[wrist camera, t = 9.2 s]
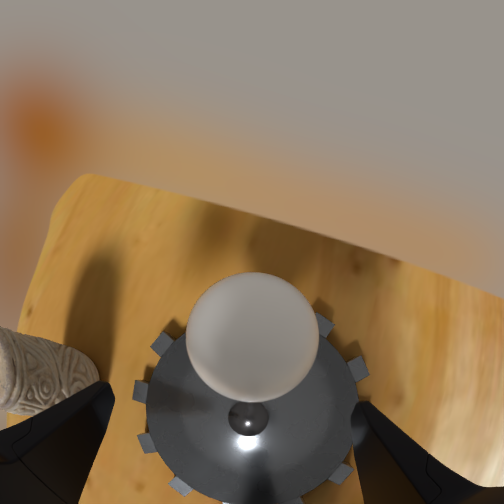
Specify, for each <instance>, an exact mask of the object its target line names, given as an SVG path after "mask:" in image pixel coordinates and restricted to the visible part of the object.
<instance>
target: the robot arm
mask: <svg viewBox="0 0 504 504" xmlns="http://www.w3.org/2000/svg"><path fill="white" fill-rule="evenodd" d="M114 403H115V396H114V394H113V391H112V388H111V385H110V384H109V383H108V382H106V381H102V380H99V381H97V382H95V383H93V384H91V385H89V386H88V387H86V388H84V389H82V390H81V391H79V392H77V393H75V394H73V395H71V396H70V397H68V398H66V399H64V400H62V401H61V402H59V403H57V404H55V405H53V406H51V407H49V408H48V409H46V410H44V411H42V412H40V413H38V414H36V415H34V416H33V417H30V418H28V419H27V420H25V421H22V422H20V423H18V424H16V425H14V426H11V427H9V428H6V429H3V430H1V431H0V504H78V502H79V500H80V497H81V494H82V491H83V488H84V486H85V483H86V480H87V478H88V475H89V473H90V470H91V467H92V465H93V462H94V460H95V457H96V455H97V452H98V450H99V447H100V445H101V443H102V440H103V438H104V435H105V433H106V430H107V426H108V423H109V420H110V416H111V413H112V409H113V406H114ZM350 422H351V431H352V440H353V450H354V457H355V462H356V466H357V471H358V475H359V480H360V484H361V489H362V494H363V499H364V504H504V487H482V486H479V485H476V484H474V483H472V482H470V481H469V480H467V479H465V478H464V477H462V476H460V475H459V474H457V473H455V472H454V471H452V470H451V469H449V468H448V467H446V466H445V465H443V464H442V463H441V462H439V461H438V460H437V459H436V458H434V457H433V456H432V455H431V454H428V452H427V451H426V450H425V449H423V448H422V447H421V446H420V445H419V444H417V443H416V442H415V441H414V440H413V439H412V438H410V437H409V436H408V435H407V434H406V433H404V432H403V431H402V430H401V429H400V428H399V427H398V426H396V425H395V424H394V423H393V422H392V421H391V420H389V419H388V418H387V417H386V416H385V415H384V414H383V413H381V412H380V411H379V410H378V409H377V408H376V407H375V406H374V405H372V404H371V403H370V402H369V401H359V402H357V403H356V405H355V407H354V410H353V412H352V414H351V418H350Z"/></svg>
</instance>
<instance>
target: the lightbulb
mask: <svg viewBox="0 0 504 504" xmlns="http://www.w3.org/2000/svg"><path fill="white" fill-rule="evenodd" d="M318 346H319V327H318V322H317V319H316V315H315V313H314V311H313V309H312V307H311V305H310V303H309V302H308V300H307V299H306V298H305V296H304V295H303V294H302V293H301V292H300V291H299V290H298V289H297V288H296V287H294V286H293V285H292V284H290V283H289V282H287V281H285V280H283V279H281V278H279V277H277V276H274V275H271V274H267V273H260V272H244V273H238V274H234V275H231V276H228V277H226V278H223V279H221V280H219V281H218V282H216V283H214V284H213V285H212V286H210V287H209V288H208V289H207V290H206V291H205V292H204V293H203V294H202V295H201V296H200V298H199V299H198V300H197V302H196V303H195V305H194V307H193V309H192V311H191V313H190V315H189V318H188V322H187V327H186V348H187V353H188V356H189V359H190V362H191V364H192V366H193V368H194V370H195V371H196V373H197V374H198V376H199V377H200V378H201V379H202V380H203V382H204V383H205V384H207V385H208V386H209V387H210V388H211V389H213V390H214V391H216V392H217V393H219V394H221V395H223V396H225V397H227V398H230V399H233V400H237V401H242V402H264V401H269V400H272V399H275V398H278V397H280V396H282V395H284V394H286V393H288V392H290V391H291V390H292V389H294V388H295V387H296V386H297V385H298V384H299V383H300V382H301V381H302V380H303V379H304V378H305V377H306V375H307V374H308V373H309V371H310V369H311V368H312V366H313V364H314V361H315V359H316V355H317V352H318Z"/></svg>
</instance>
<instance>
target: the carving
mask: <svg viewBox="0 0 504 504" xmlns="http://www.w3.org/2000/svg"><path fill="white" fill-rule="evenodd" d="M99 380H100V379H99V374H98V370H97V368H96V366H95V365H94V363H93V362H92V361H91V359H90V358H89V357H87V356H86V355H85V354H83V353H82V352H80V351H79V350H76V349H75V348H72V347H68V346H66V345H62V344H59V343H56V342H53V341H50V340H47V339H44V338H40V337H35V336H30V335H26V334H24V335H23V334H21V333H18V332H13V331H12V330H10V329H7V328H3V327H0V409H2V410H4V411H6V412H10V413H13V414H18V415H31V416H34V415H36V414H38V413H40V412H42V411H44V410H46V409H48V408H49V407H51V406H53V405H55V404H57V403H59V402H61V401H62V400H64V399H66V398H68V397H70V396H71V395H73V394H75V393H77V392H79V391H81V390H82V389H84V388H86V387H88V386H89V385H91V384H93V383H95V382H97V381H99Z"/></svg>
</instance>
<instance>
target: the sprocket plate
mask: <svg viewBox="0 0 504 504" xmlns="http://www.w3.org/2000/svg"><path fill="white" fill-rule="evenodd" d="M315 315H316V319H317V322H318V327H319V346H318V352H317V355H316V359H315V361H314V364H313V366H312V368H311V369H310V371H309V373H308V374H307V375H306V377H305V378H304V379H303V380H302V381H301V382H300V383H299V384H298V385H297V386H296V387H295V388H294V389H292V390H291V391H290V392H288V393H286V394H284V395H282V396H280V397H278V398H275V399H272V400H269V401H264V402H242V401H237V400H233V399H230V398H227V397H225V396H223V395H221V394H219V393H217V392H216V391H214V390H213V389H211V388H210V387H209V386H208V385H207V384H205V383H204V382H203V380H202V379H201V378H200V377H199V376H198V374H197V373H196V371H195V370H194V368H193V366H192V364H191V362H190V359H189V356H188V353H187V348H186V332H185V333H184V334H183V335H182V336H180V337H179V338H178V339H177V340H176V339H175V338H174V337H172V336H171V335H170V334H169V333H166V332H164V331H163V332H162V333H161V334H160V336H159V337H158V338H157V339H156V340H155V342H154V343H153V344H152V345H151V346H150V347H151V348H152V349H153V350H154V351H155V352H156V353H157V354H158V355H159V356H160V357H161V359H160V360H159V362H158V364H157V366H156V368H155V369H154V372H153V374H152V377H151V380H150V382H148V381H144V380H135V385H134V392H133V400H136V401H139V402H142V403H145V404H146V415H147V423H148V428H149V432H145V433H142V434H139V435H137V437H138V439H139V442H140V444H141V446H142V449H143V451H144V453H145V454H146V453H153V452H158V453H159V455H160V456H161V458H162V459H163V461H164V462H165V464H166V465H167V466H168V467H169V468H170V469H171V471H172V472H173V473H174V474H175V475H176V477H175V478H174V479H172V480H171V481H170V482H169V483H168V484H169V485H170V486H171V487H172V488H174V489H175V490H176V491H178V492H179V493H180V494H182V495H183V496H184V497H185V496H186V495H187V494H188V493H189V492H190V491H192V490H193V489H195V490H196V491H198V492H200V493H202V494H204V495H206V496H208V497H211V498H213V499H216V500H219V501H222V502H223V504H277V503H278V504H305V503H304V499H303V497H302V495H304V494H305V493H307V492H309V491H311V490H313V489H314V488H316V487H317V486H319V485H320V484H321V483H323V482H324V481H325V480H326V479H328V480H330V481H332V482H334V483H336V484H338V485H340V484H341V483H342V482H343V481H344V480H345V479H346V478H347V477H348V476H349V475H350V473H351V472H352V471H353V470H354V468H353V467H352V466H351V465H350V464H349V463H347V462H345V461H343V460H344V459H345V457H346V455H347V454H348V452H349V450H350V448H351V446H352V443H353V440H352V431H351V422H350V418H351V414H352V412H353V410H354V407H355V405H356V403H357V402H359V398H358V393H357V388H356V384H355V383H356V382H358V381H360V380H362V379H363V378H365V377H367V376H369V375H370V374H369V372H368V369H367V367H366V365H365V363H364V361H363V358H362V356H356V357H354V358H352V359H350V360H349V361H347V362H345V360H344V359H343V358H342V356H341V355H340V354H339V352H338V351H337V350H336V349H335V348H334V347H333V346H332V345H331V344H330V343H329V342H328V340H326V339H325V338H326V337H327V336H328V334H329V333H330V331H331V330H332V328H333V327H334V325H335V324H333V323H332V322H330V321H329V320H327V319H326V318H324V317H323V316H322V315H320V314H319V313H317V312H316V314H315Z"/></svg>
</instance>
